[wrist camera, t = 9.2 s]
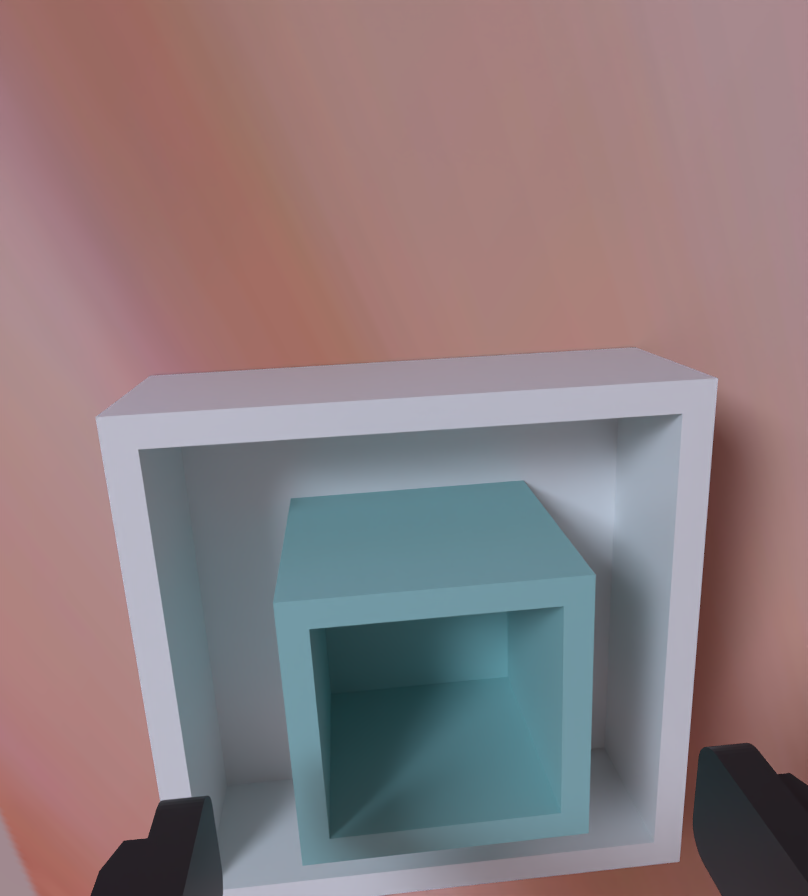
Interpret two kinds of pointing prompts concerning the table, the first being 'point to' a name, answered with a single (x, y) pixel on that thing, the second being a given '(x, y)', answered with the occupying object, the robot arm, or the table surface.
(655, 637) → the white crate
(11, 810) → the table surface
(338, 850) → the teal crate
